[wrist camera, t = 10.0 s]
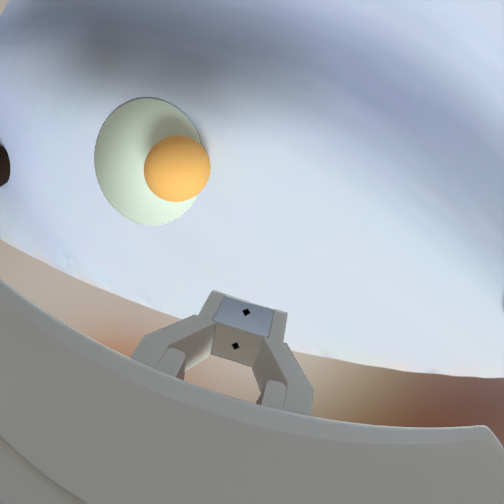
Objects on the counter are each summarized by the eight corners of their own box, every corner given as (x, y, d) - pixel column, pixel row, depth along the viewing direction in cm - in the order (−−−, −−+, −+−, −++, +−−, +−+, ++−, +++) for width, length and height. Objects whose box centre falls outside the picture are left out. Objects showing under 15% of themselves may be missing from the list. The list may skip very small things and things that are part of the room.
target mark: (81, 178, 27) (80, 179, 27) (129, 76, 21) (127, 76, 20) (163, 248, 29) (162, 248, 29) (232, 148, 23) (232, 148, 22)
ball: (182, 203, 18) (217, 205, 24) (193, 126, 18) (225, 143, 23) (126, 198, 20) (166, 200, 25) (135, 131, 19) (173, 144, 24)
